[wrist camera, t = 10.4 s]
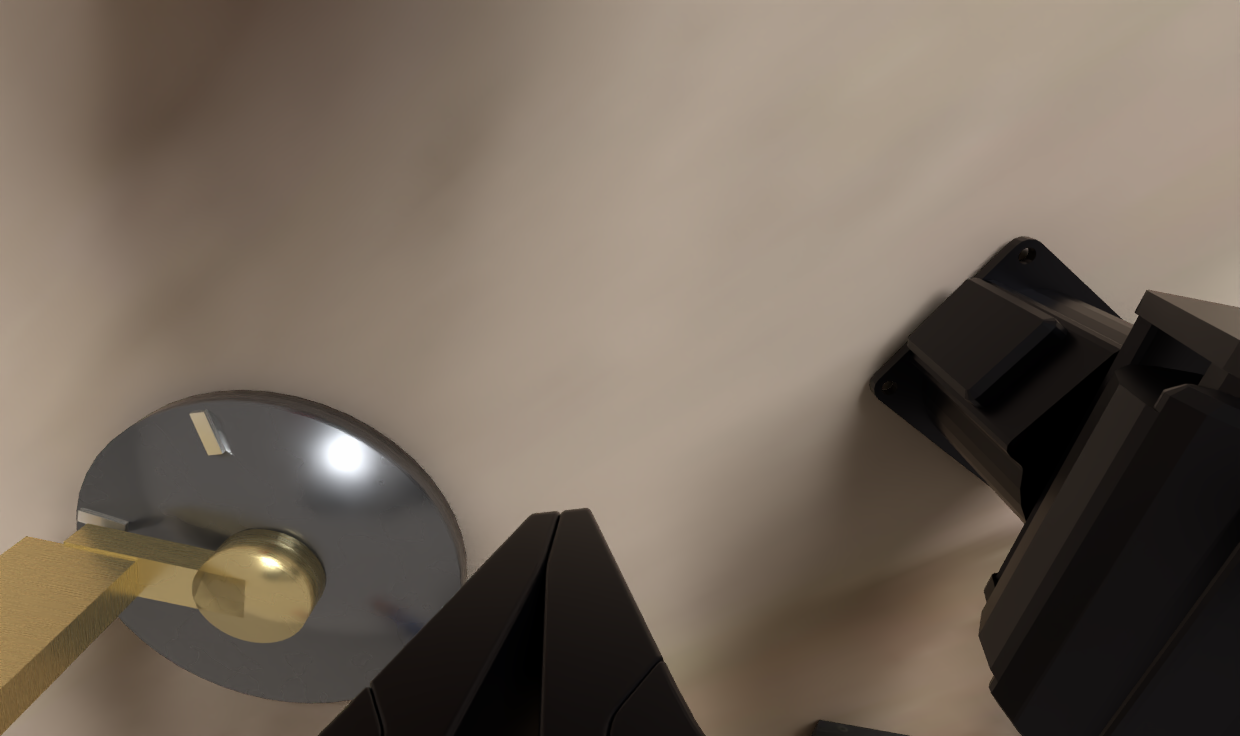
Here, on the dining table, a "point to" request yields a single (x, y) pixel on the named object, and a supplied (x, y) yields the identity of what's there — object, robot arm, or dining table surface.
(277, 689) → the lock plate
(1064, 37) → the dining table surface
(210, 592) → the gold bent piece
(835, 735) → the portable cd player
